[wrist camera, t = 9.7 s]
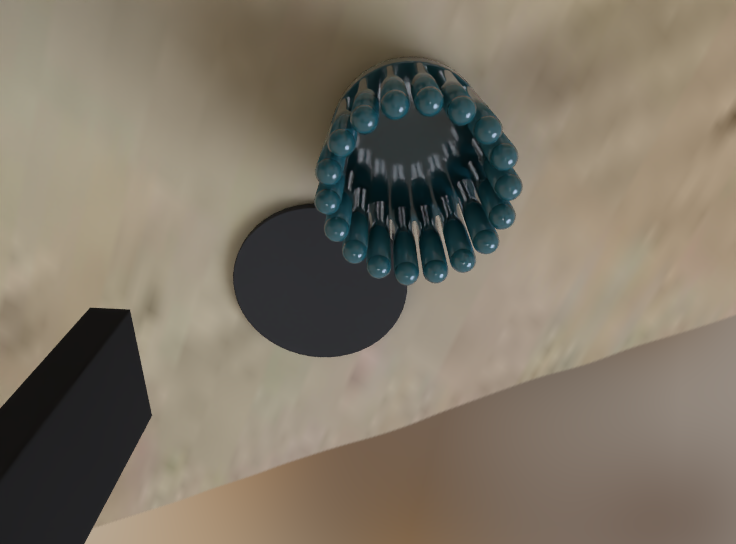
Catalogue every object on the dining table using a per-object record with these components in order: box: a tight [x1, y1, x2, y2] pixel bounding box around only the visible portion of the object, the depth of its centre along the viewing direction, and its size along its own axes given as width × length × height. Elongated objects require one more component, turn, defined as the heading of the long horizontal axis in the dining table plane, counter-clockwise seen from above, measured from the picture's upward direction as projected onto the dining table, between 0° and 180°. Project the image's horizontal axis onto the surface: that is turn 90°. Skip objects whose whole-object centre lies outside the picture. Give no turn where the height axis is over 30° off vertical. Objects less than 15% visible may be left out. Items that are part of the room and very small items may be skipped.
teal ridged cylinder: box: [314, 57, 523, 285], centre depth 25 cm, size 9×8×8 cm
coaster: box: [233, 204, 407, 357], centre depth 33 cm, size 11×11×1 cm
